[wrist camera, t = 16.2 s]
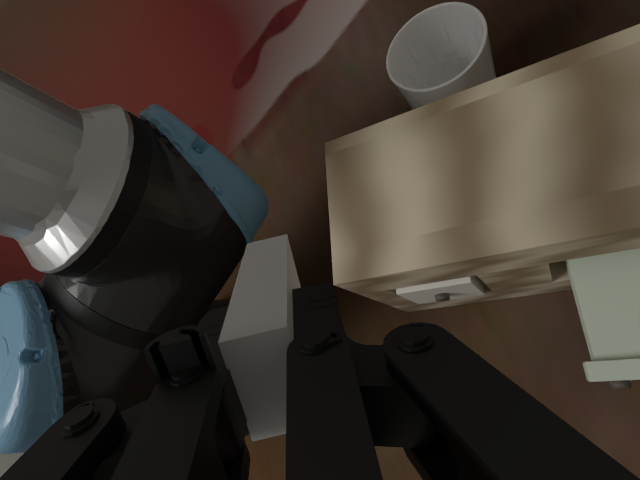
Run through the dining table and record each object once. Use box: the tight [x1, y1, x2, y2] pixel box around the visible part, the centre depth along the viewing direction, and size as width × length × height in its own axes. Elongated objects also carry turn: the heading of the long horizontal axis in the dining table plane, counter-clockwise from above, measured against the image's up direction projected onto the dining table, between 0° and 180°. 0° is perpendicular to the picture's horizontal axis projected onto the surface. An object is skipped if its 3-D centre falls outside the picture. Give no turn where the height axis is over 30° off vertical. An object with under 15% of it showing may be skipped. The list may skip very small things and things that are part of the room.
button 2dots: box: [565, 248, 640, 388], centre depth 23 cm, size 5×8×5 cm, turn 4°
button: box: [396, 276, 485, 304], centre depth 30 cm, size 5×8×5 cm, turn 4°
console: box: [325, 24, 640, 312], centre depth 26 cm, size 30×10×14 cm, turn 94°
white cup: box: [386, 2, 496, 110], centre depth 36 cm, size 8×8×10 cm
